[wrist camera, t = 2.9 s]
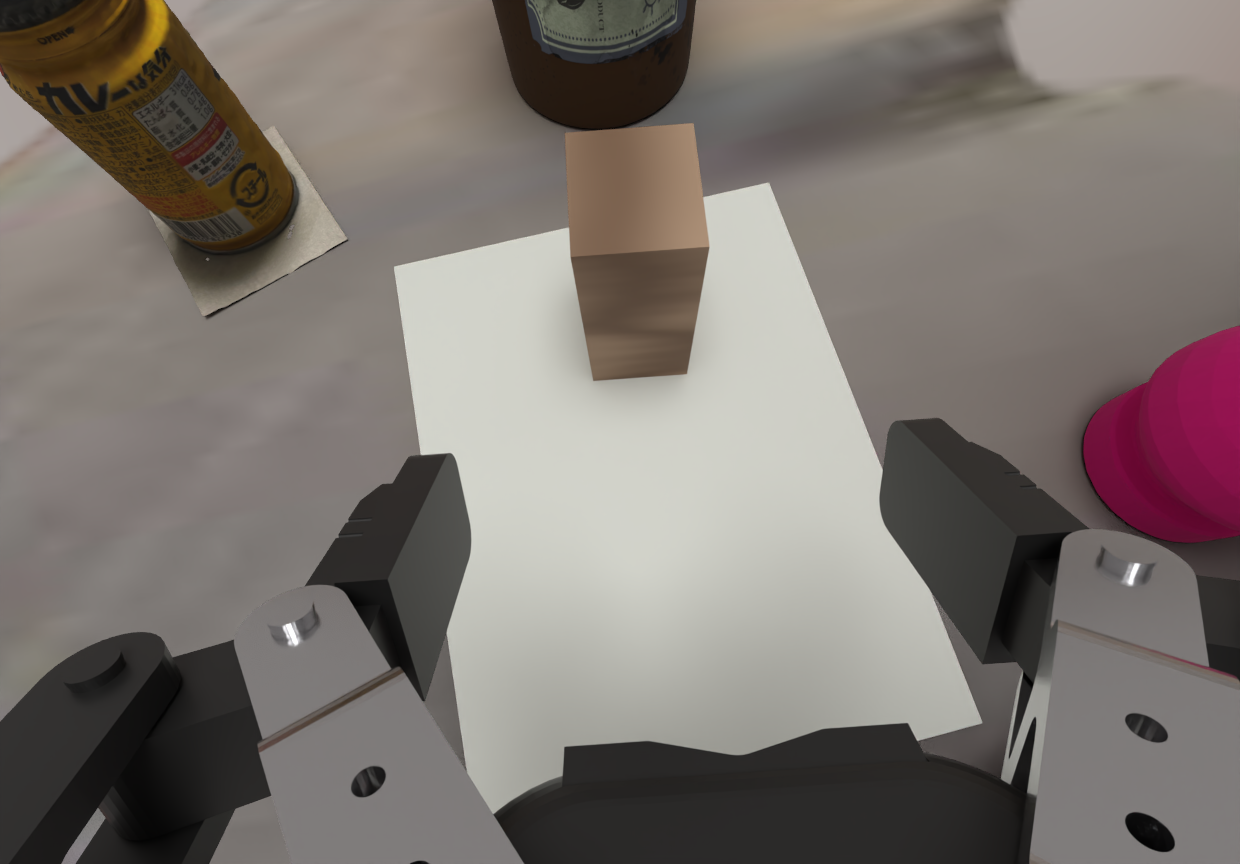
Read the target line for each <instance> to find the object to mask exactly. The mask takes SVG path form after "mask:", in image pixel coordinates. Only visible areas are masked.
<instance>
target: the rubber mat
mask: <svg viewBox="0 0 1240 864" xmlns="http://www.w3.org/2000/svg"><path fill="white" fill-rule="evenodd" d="M703 200H704V208H705V215H706V223H707V230H708V238H709V246H710V247H709V253H708V259H707V264H706V270H705V275H704V281H703V287H702V292H701V298H700V304H699V309H698V315H697V320H696V326H695V332H694V337H693V343H692V349H691V354H690V360H689V365H688V371H687V374H683V375H669V376H656V377H642V378H628V379H614V380H600V381H593V377H592V371H591V366H590V361H589V355H588V350H587V344H586V339H585V333H584V328H583V323H582V317H581V312H580V306H579V301H578V295H577V290H576V285H575V279H574V274H573V268H572V263H571V257H570V237H569V228H564V229H560V230H556V231H551V232H547V233H542V234H538V235H533V236H529V237H524V238H520V239H515V240H511V241H507V242H502V243H498V244H493V245H489V246H484V247H480V248H475V249H471V250H466V251H462V252H458V253H453V254H449V255H444V256H440V257H435V258H431V259H426V260H422V261H417V262H413V263H409V264H404V265H400V266H395V267H394V270H395V277H396V284H397V291H398V298H399V305H400V312H401V319H402V326H403V333H404V340H405V347H406V354H407V360H408V367H409V374H410V381H411V388H412V395H413V402H414V409H415V416H416V423H417V430H418V437H419V444H420V450H421V455H429V454H442V453H452V454H453V456H454V457H455V459H456V462H457V466H458V470H459V475H460V479H461V484H462V489H463V493H464V498H465V502H466V507H467V512H468V516H469V521H470V527H471V553H470V557H469V561H468V564H467V567H466V570H465V574H464V577H463V580H462V583H461V587H460V590H459V593H458V596H457V599H456V603H455V606H454V609H453V612H452V616H451V619H450V622H449V625H448V628H447V638H448V644H449V651H450V658H451V665H452V672H453V679H454V686H455V693H456V700H457V707H458V714H459V721H460V728H461V734H462V741H463V748H464V755H465V762H466V769H467V773H468V775H469V777H470V778H471V780H472V781H473V783H474V785H475V786H476V788H477V789H478V791H479V793H480V794H481V796H482V797H483V799H484V801H485V802H486V804H487V805H488V807H489V808H490V810H491V812H492V813H493V814H494V813H495V812H497V811H498V810H499V809H500V808H502V807H503V806H504V805H506V804H507V803H508V802H510V801H511V800H513V799H514V798H516V797H518V796H519V795H521V794H523V793H524V792H526V791H528V790H529V789H531V788H533V787H536V786H538V785H540V784H542V783H544V782H546V781H548V780H551V779H554V778H557V777H560V776H563V761H564V747H566V746H581V745H595V744H610V743H624V742H639V741H653V742H658V743H664V744H670V745H676V746H682V747H688V748H694V749H700V750H706V751H712V752H718V753H724V754H730V755H745V754H749V753H752V752H755V751H758V750H761V749H764V748H767V747H770V746H773V745H776V744H779V743H782V742H785V741H788V740H791V739H794V738H797V737H800V736H803V735H806V734H809V733H812V732H815V731H818V730H821V729H826V728H841V727H855V726H869V725H884V724H898V723H908V724H909V726H910V728H911V730H912V732H913V734H914V736H915V738H916V740H917V741H919V740H923V739H926V738H930V737H934V736H937V735H941V734H945V733H948V732H952V731H956V730H959V729H963V728H967V727H971V726H974V725H978V724H982V720H981V718H980V715H979V713H978V710H977V707H976V705H975V702H974V700H973V697H972V695H971V692H970V690H969V687H968V685H967V682H966V680H965V677H964V675H963V672H962V670H961V667H960V665H959V662H958V659H957V657H956V654H955V652H954V649H953V647H952V644H951V642H950V639H949V637H948V634H947V632H946V629H945V627H944V624H943V622H942V619H941V617H940V614H939V611H938V609H937V606H936V604H935V601H934V599H933V596H932V594H931V591H930V589H929V588H928V586H927V585H926V584H925V582H924V581H923V579H922V578H921V576H920V575H919V574H918V572H917V571H916V569H915V568H914V567H913V565H912V564H911V562H910V561H909V560H908V558H907V557H906V555H905V554H904V552H903V551H902V550H901V548H900V547H899V545H898V544H897V543H896V541H895V540H894V538H893V537H892V535H891V534H890V533H889V531H888V530H887V528H886V527H885V524H884V522H883V519H882V516H881V512H880V504H879V495H880V487H881V480H882V473H883V470H882V467H881V465H880V462H879V460H878V457H877V455H876V452H875V450H874V447H873V445H872V442H871V440H870V437H869V435H868V432H867V430H866V427H865V425H864V422H863V419H862V417H861V414H860V412H859V409H858V407H857V404H856V402H855V399H854V397H853V394H852V392H851V389H850V387H849V384H848V382H847V379H846V377H845V374H844V371H843V369H842V366H841V364H840V361H839V359H838V356H837V354H836V351H835V349H834V346H833V344H832V341H831V339H830V336H829V334H828V331H827V329H826V326H825V323H824V321H823V318H822V316H821V313H820V311H819V308H818V306H817V303H816V301H815V298H814V296H813V293H812V291H811V288H810V286H809V283H808V281H807V278H806V275H805V273H804V270H803V268H802V265H801V263H800V260H799V258H798V255H797V253H796V250H795V248H794V245H793V243H792V240H791V238H790V235H789V233H788V230H787V227H786V225H785V222H784V220H783V217H782V215H781V212H780V210H779V207H778V205H777V202H776V200H775V197H774V195H773V192H772V190H771V187H770V185H769V183H765V184H760V185H756V186H751V187H747V188H743V189H738V190H734V191H729V192H725V193H720V194H716V195H711V196H707V197H703Z"/></svg>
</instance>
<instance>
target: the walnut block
mask: <svg viewBox="0 0 1240 864" xmlns="http://www.w3.org/2000/svg"><path fill="white" fill-rule="evenodd" d="M565 148H566V171H567V193H568V215H569V237H570V257H571V263H572V268H573V274H574V279H575V285H576V290H577V295H578V301H579V306H580V312H581V317H582V323H583V328H584V333H585V339H586V344H587V350H588V355H589V361H590V366H591V371H592V377H593V381H600V380H614V379H628V378H642V377H656V376H669V375H683V374H687V371H688V365H689V360H690V354H691V349H692V343H693V337H694V332H695V326H696V320H697V315H698V309H699V304H700V298H701V292H702V287H703V281H704V275H705V270H706V264H707V259H708V253H709V247H710V246H709V238H708V230H707V223H706V215H705V208H704V200H703V192H702V185H701V177H700V169H699V162H698V154H697V146H696V139H695V131H694V123H690V124H676V125H663V126H650V127H636V128H623V129H610V130H597V131H584V132H571V133H565Z"/></svg>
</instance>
